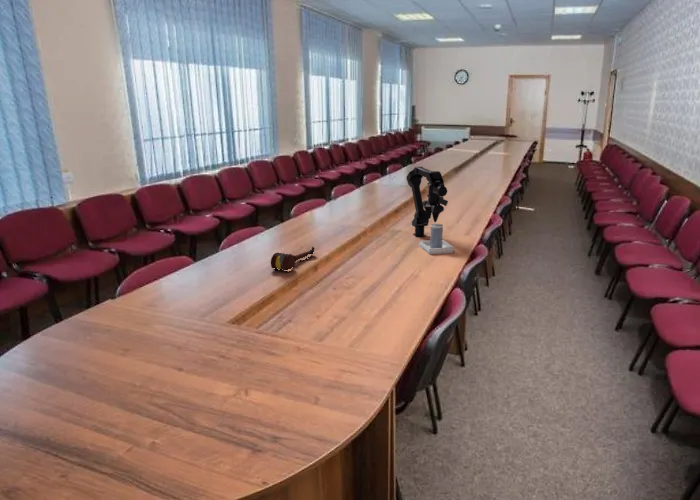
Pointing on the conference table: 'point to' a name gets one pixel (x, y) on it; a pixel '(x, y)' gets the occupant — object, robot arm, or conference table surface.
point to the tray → (445, 248)
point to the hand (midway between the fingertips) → (432, 220)
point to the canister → (436, 236)
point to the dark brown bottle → (287, 260)
